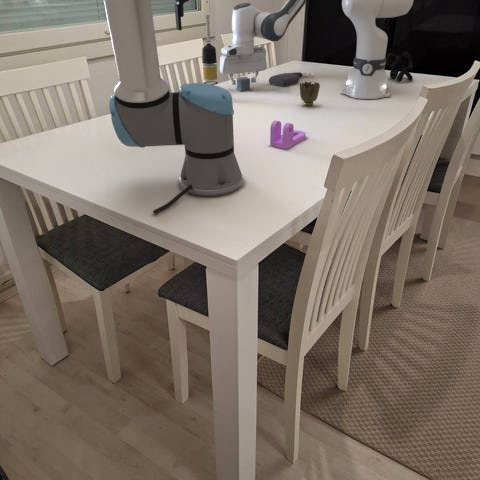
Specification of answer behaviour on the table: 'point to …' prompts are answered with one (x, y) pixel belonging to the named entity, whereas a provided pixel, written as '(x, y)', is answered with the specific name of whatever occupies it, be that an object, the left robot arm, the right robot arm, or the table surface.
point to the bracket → (284, 135)
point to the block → (243, 83)
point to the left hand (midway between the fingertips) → (156, 31)
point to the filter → (209, 58)
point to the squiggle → (399, 66)
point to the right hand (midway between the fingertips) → (243, 83)
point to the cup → (309, 92)
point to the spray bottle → (288, 78)
